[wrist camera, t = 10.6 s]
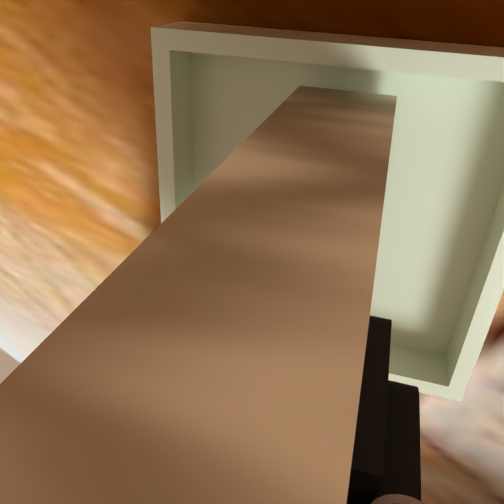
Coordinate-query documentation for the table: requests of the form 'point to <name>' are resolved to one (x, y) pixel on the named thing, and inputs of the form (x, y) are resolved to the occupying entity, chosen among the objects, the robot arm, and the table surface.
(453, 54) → the tray
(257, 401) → the block
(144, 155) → the table surface
